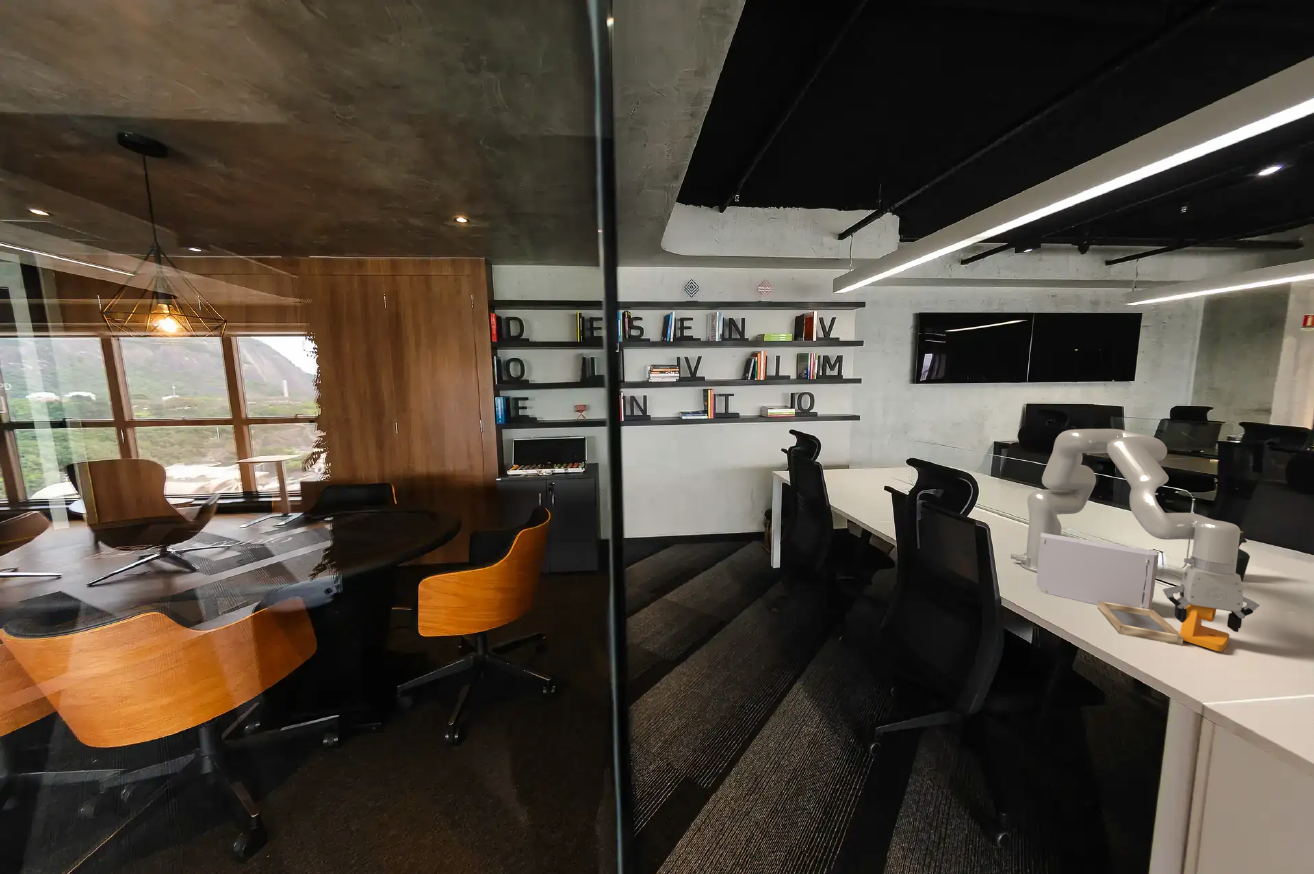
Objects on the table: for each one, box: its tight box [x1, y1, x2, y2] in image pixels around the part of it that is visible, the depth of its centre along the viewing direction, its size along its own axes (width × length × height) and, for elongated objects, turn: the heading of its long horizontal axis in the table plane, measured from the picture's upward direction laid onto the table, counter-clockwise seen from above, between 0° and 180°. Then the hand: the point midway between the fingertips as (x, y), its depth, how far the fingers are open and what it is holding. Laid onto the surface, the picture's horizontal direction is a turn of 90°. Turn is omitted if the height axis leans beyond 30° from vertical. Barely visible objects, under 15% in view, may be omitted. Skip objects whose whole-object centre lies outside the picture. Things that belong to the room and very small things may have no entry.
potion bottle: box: [1235, 530, 1251, 582], centre depth 159 cm, size 8×8×18 cm
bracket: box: [1179, 604, 1231, 653], centre depth 120 cm, size 11×7×12 cm, turn 120°
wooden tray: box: [1097, 601, 1184, 647], centre depth 130 cm, size 12×16×2 cm
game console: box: [1035, 533, 1159, 610], centre depth 144 cm, size 6×27×20 cm, turn 47°
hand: (1206, 625), depth 120 cm, fingers open, 9 cm apart
